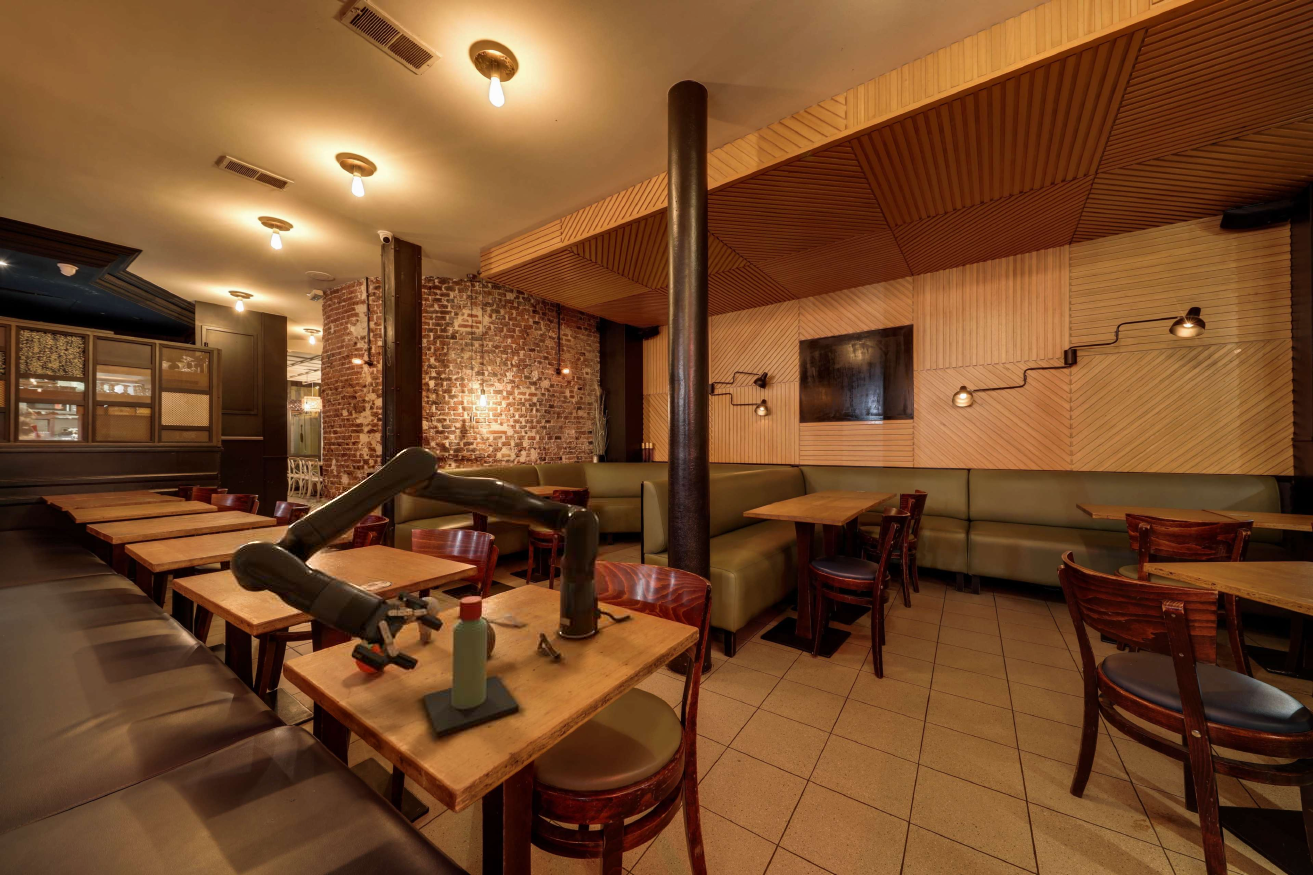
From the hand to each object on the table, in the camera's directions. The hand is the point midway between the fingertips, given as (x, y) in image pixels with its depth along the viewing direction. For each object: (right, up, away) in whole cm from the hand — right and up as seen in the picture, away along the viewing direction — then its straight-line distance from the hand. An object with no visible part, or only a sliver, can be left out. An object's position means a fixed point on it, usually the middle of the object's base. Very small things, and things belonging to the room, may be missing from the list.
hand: (429, 645), depth 86 cm
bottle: (+7, -11, +1) cm, 13 cm away
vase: (+1, -12, +21) cm, 24 cm away
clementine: (-19, -12, +13) cm, 25 cm away
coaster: (+7, -12, +1) cm, 14 cm away
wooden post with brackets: (+17, -12, +21) cm, 30 cm away
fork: (-4, -13, +43) cm, 45 cm away
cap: (+7, +5, +1) cm, 9 cm away
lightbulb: (-15, -12, +29) cm, 35 cm away
